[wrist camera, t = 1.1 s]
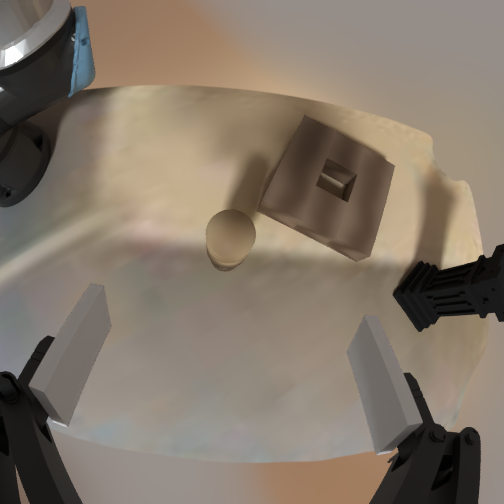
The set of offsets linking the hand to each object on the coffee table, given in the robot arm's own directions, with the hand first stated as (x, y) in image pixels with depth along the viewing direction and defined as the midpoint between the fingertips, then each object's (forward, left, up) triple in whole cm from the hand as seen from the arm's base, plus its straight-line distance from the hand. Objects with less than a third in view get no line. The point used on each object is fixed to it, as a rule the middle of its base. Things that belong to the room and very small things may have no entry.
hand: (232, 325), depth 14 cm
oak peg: (-3, +7, -24) cm, 25 cm away
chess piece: (+27, +15, -24) cm, 39 cm away
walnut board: (+6, +23, -24) cm, 34 cm away
